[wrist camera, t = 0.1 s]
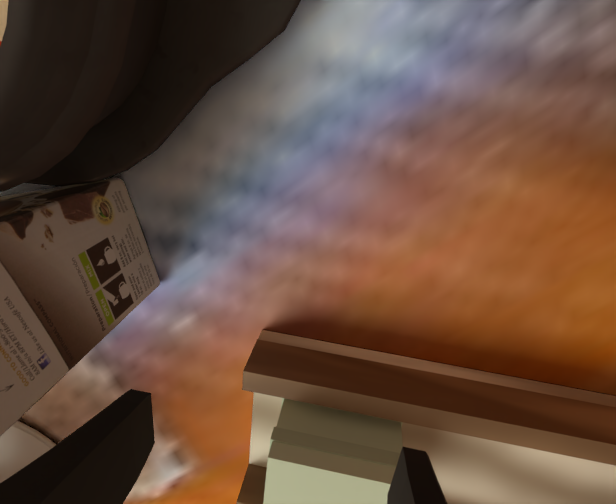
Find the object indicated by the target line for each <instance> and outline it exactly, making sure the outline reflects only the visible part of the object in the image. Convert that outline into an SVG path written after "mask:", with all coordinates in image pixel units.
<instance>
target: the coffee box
mask: <svg viewBox="0 0 616 504" xmlns="http://www.w3.org/2000/svg"><path fill="white" fill-rule="evenodd" d="M159 284H160V280H159V277H158V274H157V272H156V269H155V266H154V263H153V260H152V258H151V255H150V252H149V250H148V247H147V244H146V241H145V238H144V235H143V233H142V230H141V227H140V224H139V222H138V219H137V216H136V213H135V210H134V208H133V205H132V202H131V199H130V197H129V194H128V191H127V189H126V186H125V184H124V182H123V181H122V180H121V179H119V178H108V179H102V180H100V181H97V182H92V183H84V184H75V185H67V186H60V187H54V188H48V189H42V190H35V191H29V192H23V193H17V194H11V195H5V196H0V436H1V435H2V434H3V433H4V432H5V431H7V430H8V429H9V428H10V427H11V426H12V425H13V424H14V423H15V422H16V421H18V420H19V419H20V418H21V417H22V416H23V415H24V413H25V412H27V411H28V410H29V409H30V408H31V406H33V405H34V404H35V403H36V402H37V401H38V400H40V399H41V398H42V397H43V396H44V395H45V394H46V393H47V392H48V391H49V390H50V389H51V388H52V387H53V386H54V385H55V384H56V383H57V382H58V381H59V380H60V379H61V378H63V377H64V376H65V374H66V373H67V372H68V371H69V370H70V369H71V368H72V367H74V366H75V365H76V364H77V363H78V362H79V361H80V360H81V359H82V358H83V357H84V356H85V355H86V354H87V353H88V352H89V351H90V350H91V349H92V348H93V347H94V346H96V345H97V344H98V343H99V342H100V341H101V340H102V339H103V338H104V337H105V336H106V335H107V334H108V333H109V332H110V331H111V330H113V329H114V328H115V327H116V326H117V325H118V324H119V323H120V322H121V321H122V320H123V319H124V318H125V317H126V316H127V315H128V314H129V313H130V312H131V311H132V310H133V309H134V308H135V307H136V306H137V305H139V304H140V303H141V302H142V301H143V300H144V299H145V298H146V297H147V296H148V295H149V294H150V293H151V292H152V291H153V290H155V289H156V288H157V287H158V286H159Z"/></svg>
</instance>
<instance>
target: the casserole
mask: <svg viewBox="0 0 616 504" xmlns="http://www.w3.org/2000/svg"><path fill="white" fill-rule="evenodd" d="M300 1H301V0H0V191H5V190H8V189H10V188H12V187H15V186H17V185H20V184H22V183H32V184H43V185H53V186H67V185H75V184H84V183H92V182H97V181H100V180H102V179H105V178H107V177H110V176H113V175H115V174H118V173H121V172H123V171H126V170H128V169H130V168H131V167H133V166H134V165H135V164H137V163H138V162H140V161H141V160H143V159H144V158H146V157H147V156H148V155H150V154H151V153H153V152H154V151H156V150H157V149H158V148H159V147H160V146H161V145H162V144H163V142H164V141H165V140H166V139H167V138H168V137H169V135H170V134H171V133H172V132H173V131H174V130H175V129H176V127H177V126H178V125H179V124H180V123H181V122H182V120H183V119H184V118H185V117H186V116H187V115H188V113H189V112H190V111H191V110H192V109H193V108H194V106H195V105H196V104H197V103H198V102H199V101H200V99H201V98H202V97H203V96H204V95H205V94H206V92H207V91H208V90H209V89H210V88H211V87H212V86H213V85H214V84H216V83H217V82H219V81H220V80H221V79H223V78H224V77H225V76H227V75H228V74H230V73H231V72H232V71H234V70H235V69H237V68H238V67H239V66H241V65H242V64H244V63H245V62H246V61H248V60H249V59H250V58H251V57H253V56H254V55H255V54H256V53H258V52H259V51H260V50H261V49H262V48H264V47H265V46H266V45H267V44H269V43H270V42H271V41H272V40H273V39H275V38H276V37H277V36H278V35H280V34H281V33H282V32H283V31H284V30H285V28H286V27H287V25H288V23H289V21H290V19H291V17H292V16H293V14H294V12H295V10H296V8H297V7H298V5H299V3H300Z"/></svg>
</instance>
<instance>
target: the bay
mask: <svg viewBox="0 0 616 504" xmlns="http://www.w3.org/2000/svg"><path fill="white" fill-rule="evenodd" d="M242 390H246V391H251V392H254V397H253V412H252V427H251V442H250V457H249V465H248V468H247V471H246V475H245V478H244V481H243V484H242V487H241V490H240V493H239V496H238V499H237V504H263V501H264V491H265V481H266V471H267V460H268V455H269V448H270V439H271V435H272V432H273V428H274V427H276V426H277V423H278V419H279V415H280V412H281V405H282V398H285V399H290V400H295V401H300V402H305V403H310V404H315V405H320V406H324V407H329V408H334V409H339V410H344V411H349V412H354V413H359V414H364V415H369V416H374V417H379V418H384V419H388V420H393V421H398V422H403V424H402V427H401V430H402V443H403V447H408V448H413V449H417V450H422V451H426V453H427V454H428V455H429V458H430V461H431V464H432V466H433V469H434V472H435V474H436V477H437V479H438V482H439V484H440V487H441V489H442V492H443V494H444V496H445V499H446V501H447V504H616V396H613V395H607V394H602V393H597V392H591V391H586V390H581V389H575V388H570V387H565V386H559V385H554V384H549V383H543V382H538V381H533V380H527V379H522V378H517V377H511V376H506V375H501V374H495V373H490V372H485V371H479V370H474V369H469V368H463V367H458V366H453V365H447V364H442V363H437V362H431V361H426V360H421V359H415V358H410V357H405V356H399V355H394V354H389V353H383V352H378V351H373V350H367V349H362V348H357V347H351V346H346V345H341V344H335V343H330V342H325V341H319V340H314V339H309V338H303V337H298V336H293V335H287V334H282V333H277V332H271V331H266V330H262V331H261V333H260V336H259V338H258V339H257V341H256V344H255V346H254V348H253V350H252V353H251V355H250V357H249V359H248V362H247V364H246V366H245V368H244V371H243V388H242Z"/></svg>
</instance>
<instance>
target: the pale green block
mask: <svg viewBox="0 0 616 504" xmlns="http://www.w3.org/2000/svg"><path fill="white" fill-rule="evenodd" d="M402 424H403V422H398V421H393V420H388V419H384V418H379V417H374V416H369V415H364V414H359V413H354V412H349V411H344V410H339V409H334V408H329V407H324V406H320V405H315V404H310V403H305V402H300V401H295V400H290V399H285V398H282V405H281V412H280V415H279V419H278V423H277V426H276V427H274V428H273V432H272V435H271V439H270V448H269V455H268V460H267V471H266V481H265V491H264V501H263V504H387V495H388V491H389V488H390V485H391V482H392V479H393V475H394V472H395V469H396V466H397V463H398V459H399V456H400V453H401V450H402V447H403V443H402V430H401V427H402Z"/></svg>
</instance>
